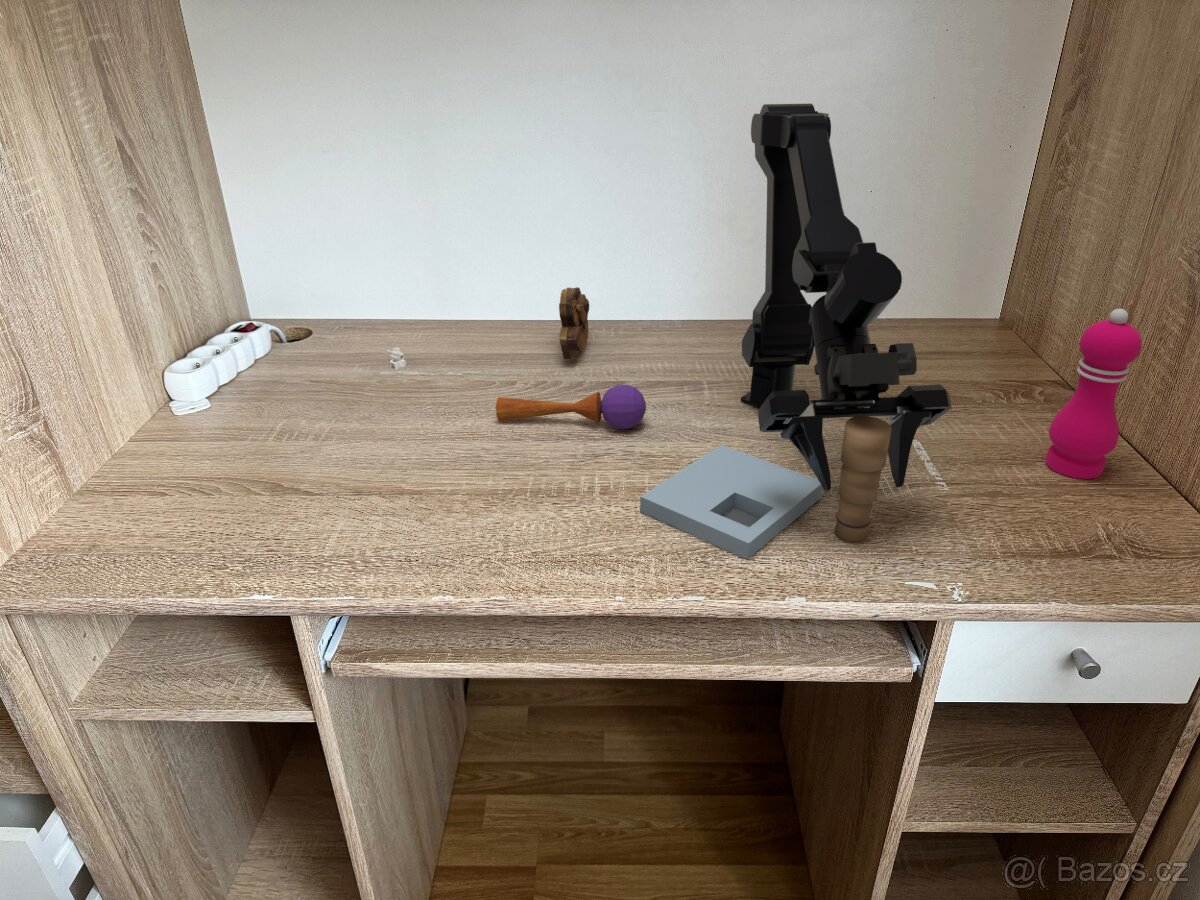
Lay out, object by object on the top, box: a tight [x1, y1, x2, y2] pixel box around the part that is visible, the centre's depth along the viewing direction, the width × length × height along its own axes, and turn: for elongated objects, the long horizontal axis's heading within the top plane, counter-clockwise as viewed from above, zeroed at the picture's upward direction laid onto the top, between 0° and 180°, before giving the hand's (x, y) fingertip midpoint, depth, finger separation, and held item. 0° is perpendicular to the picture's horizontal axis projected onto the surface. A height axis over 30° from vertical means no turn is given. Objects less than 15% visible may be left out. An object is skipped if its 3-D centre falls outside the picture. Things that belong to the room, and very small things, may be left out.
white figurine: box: [386, 347, 407, 371], centre depth 130 cm, size 3×3×3 cm
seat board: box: [639, 444, 824, 560], centre depth 93 cm, size 16×14×2 cm
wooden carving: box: [558, 287, 590, 360], centre depth 134 cm, size 16×5×10 cm, turn 179°
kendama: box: [495, 384, 647, 430], centre depth 112 cm, size 6×6×20 cm
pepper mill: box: [1045, 308, 1143, 480], centre depth 96 cm, size 7×7×20 cm
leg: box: [834, 416, 892, 545], centre depth 85 cm, size 4×4×13 cm
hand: (864, 488), depth 84 cm, fingers open, 7 cm apart
